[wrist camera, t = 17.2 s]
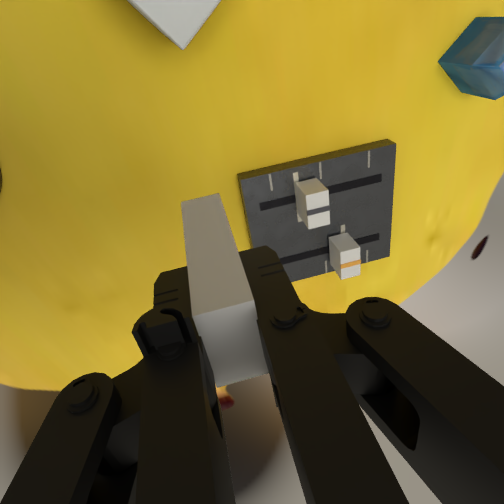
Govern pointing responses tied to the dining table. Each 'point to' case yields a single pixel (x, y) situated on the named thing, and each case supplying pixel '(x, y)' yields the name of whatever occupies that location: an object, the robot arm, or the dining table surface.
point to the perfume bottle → (478, 58)
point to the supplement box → (176, 17)
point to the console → (340, 200)
